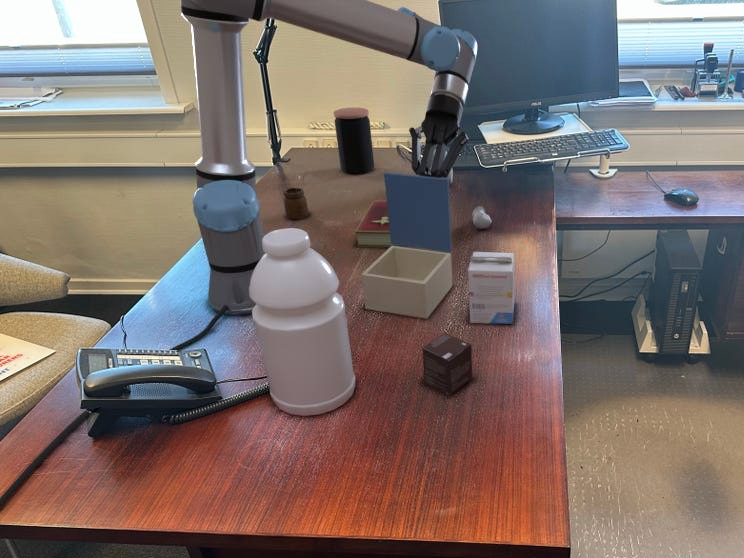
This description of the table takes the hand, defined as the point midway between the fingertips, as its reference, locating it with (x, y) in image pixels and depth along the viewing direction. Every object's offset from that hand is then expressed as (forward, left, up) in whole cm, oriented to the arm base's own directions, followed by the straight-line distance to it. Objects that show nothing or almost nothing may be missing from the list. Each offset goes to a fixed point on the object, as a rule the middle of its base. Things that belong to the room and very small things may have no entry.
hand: (421, 205), depth 133 cm
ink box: (-3, -21, -17) cm, 27 cm away
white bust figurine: (+32, +9, -17) cm, 37 cm away
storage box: (-8, -3, -17) cm, 19 cm away
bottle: (-42, -13, -17) cm, 47 cm away
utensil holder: (+7, +53, -17) cm, 56 cm away
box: (-26, -29, -17) cm, 43 cm away
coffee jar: (+44, +69, -17) cm, 84 cm away
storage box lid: (-2, -1, -1) cm, 2 cm away
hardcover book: (+15, +26, -17) cm, 34 cm away
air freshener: (+49, +39, -17) cm, 65 cm away
